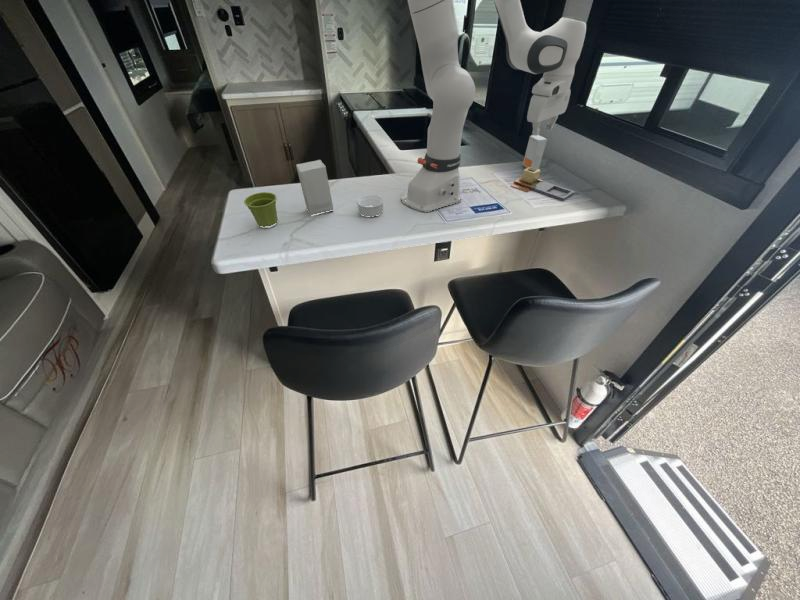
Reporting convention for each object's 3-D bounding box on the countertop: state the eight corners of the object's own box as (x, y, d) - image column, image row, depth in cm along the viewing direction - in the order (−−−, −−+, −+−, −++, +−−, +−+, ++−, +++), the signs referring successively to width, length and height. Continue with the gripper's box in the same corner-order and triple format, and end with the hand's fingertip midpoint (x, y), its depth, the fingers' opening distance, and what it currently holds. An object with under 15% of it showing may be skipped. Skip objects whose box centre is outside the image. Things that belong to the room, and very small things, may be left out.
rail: (559, 203, 112) (560, 200, 112) (509, 185, 123) (510, 182, 122) (573, 194, 118) (574, 190, 117) (524, 177, 129) (525, 174, 128)
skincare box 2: (522, 165, 138) (529, 135, 129) (530, 164, 139) (538, 134, 130) (530, 170, 133) (538, 140, 125) (539, 169, 134) (547, 139, 126)
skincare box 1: (329, 204, 114) (321, 158, 103) (334, 212, 110) (327, 166, 99) (305, 209, 111) (295, 163, 101) (310, 217, 107) (299, 170, 96)
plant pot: (288, 224, 104) (281, 199, 98) (261, 235, 99) (252, 209, 93) (274, 214, 109) (267, 189, 103) (248, 224, 104) (238, 198, 98)
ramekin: (355, 209, 111) (353, 197, 108) (379, 204, 114) (378, 192, 111) (362, 221, 105) (361, 209, 102) (387, 216, 108) (387, 204, 105)
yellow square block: (530, 187, 122) (534, 172, 118) (519, 184, 125) (523, 169, 121) (536, 184, 124) (541, 169, 120) (526, 180, 127) (530, 165, 123)
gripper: (561, 79, 109) (548, 124, 118) (529, 87, 99) (518, 136, 108) (580, 81, 106) (565, 128, 115) (548, 90, 95) (535, 140, 105)
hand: (542, 132), depth 112 cm, fingers open, 8 cm apart
